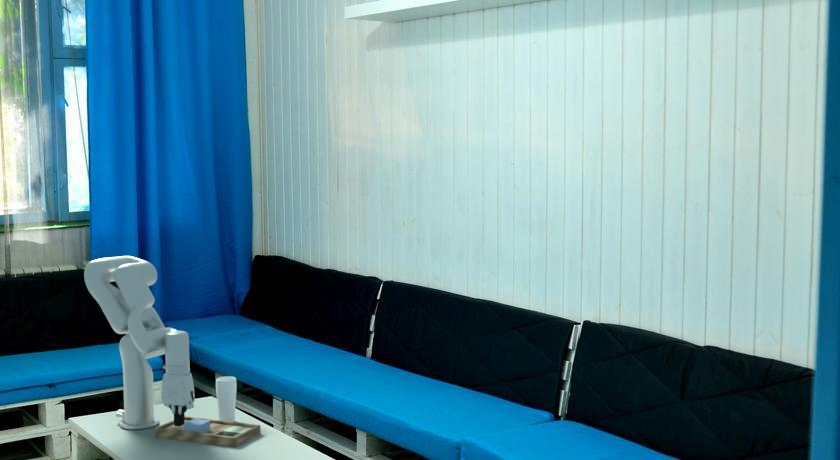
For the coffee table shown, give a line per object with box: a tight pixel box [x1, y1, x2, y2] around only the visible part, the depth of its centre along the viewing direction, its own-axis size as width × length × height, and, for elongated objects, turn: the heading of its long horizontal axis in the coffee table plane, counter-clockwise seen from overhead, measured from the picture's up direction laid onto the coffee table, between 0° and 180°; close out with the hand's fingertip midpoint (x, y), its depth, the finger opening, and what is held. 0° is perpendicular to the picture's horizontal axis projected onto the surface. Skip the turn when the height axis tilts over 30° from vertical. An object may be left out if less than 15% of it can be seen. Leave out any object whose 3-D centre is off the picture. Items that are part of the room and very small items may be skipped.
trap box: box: [154, 415, 261, 448], centre depth 302 cm, size 30×15×3 cm, turn 69°
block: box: [183, 419, 210, 433], centre depth 299 cm, size 6×6×3 cm
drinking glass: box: [215, 375, 237, 422], centre depth 316 cm, size 7×7×15 cm
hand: (179, 425), depth 302 cm, fingers closed
